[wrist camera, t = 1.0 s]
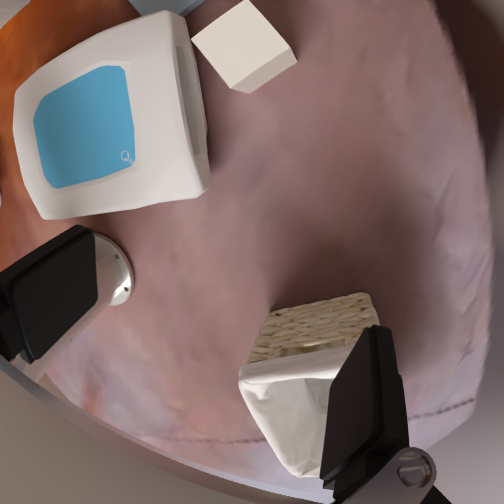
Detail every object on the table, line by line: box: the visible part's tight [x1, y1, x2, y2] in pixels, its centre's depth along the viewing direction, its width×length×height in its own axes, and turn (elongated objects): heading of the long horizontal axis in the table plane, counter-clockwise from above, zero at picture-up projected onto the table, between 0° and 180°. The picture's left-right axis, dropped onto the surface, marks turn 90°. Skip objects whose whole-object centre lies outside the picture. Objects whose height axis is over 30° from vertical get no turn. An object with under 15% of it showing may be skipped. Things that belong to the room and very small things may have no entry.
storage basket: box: [239, 292, 380, 477], centre depth 37 cm, size 24×16×15 cm
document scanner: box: [13, 10, 212, 220], centre depth 33 cm, size 21×28×6 cm
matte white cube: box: [191, 0, 297, 94], centre depth 26 cm, size 6×6×8 cm
